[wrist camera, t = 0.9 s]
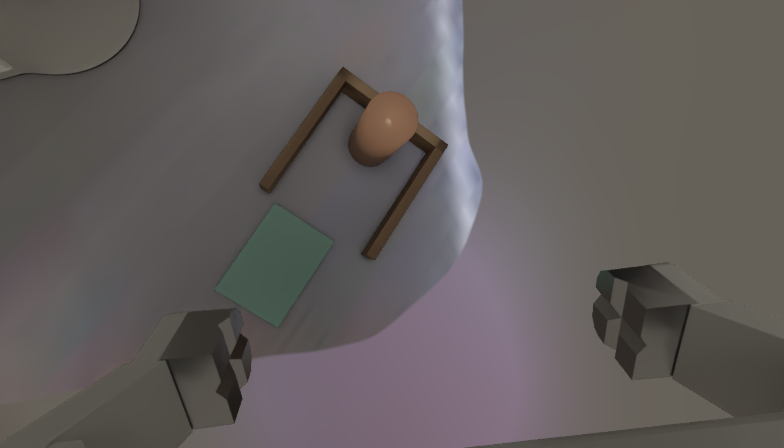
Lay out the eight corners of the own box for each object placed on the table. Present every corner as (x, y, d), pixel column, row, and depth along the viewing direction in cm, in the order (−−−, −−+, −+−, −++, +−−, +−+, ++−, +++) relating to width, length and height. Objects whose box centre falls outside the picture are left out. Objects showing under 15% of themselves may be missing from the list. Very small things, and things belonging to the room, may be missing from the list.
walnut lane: (260, 187, 43) (258, 183, 40) (339, 78, 45) (342, 66, 43) (369, 259, 45) (374, 260, 42) (438, 151, 48) (448, 144, 45)
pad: (214, 289, 42) (213, 289, 41) (275, 203, 43) (275, 202, 43) (277, 327, 43) (277, 328, 42) (334, 241, 44) (334, 242, 44)
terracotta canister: (339, 150, 45) (354, 123, 35) (363, 115, 46) (384, 80, 36) (375, 175, 46) (399, 155, 36) (398, 140, 47) (427, 113, 37)
